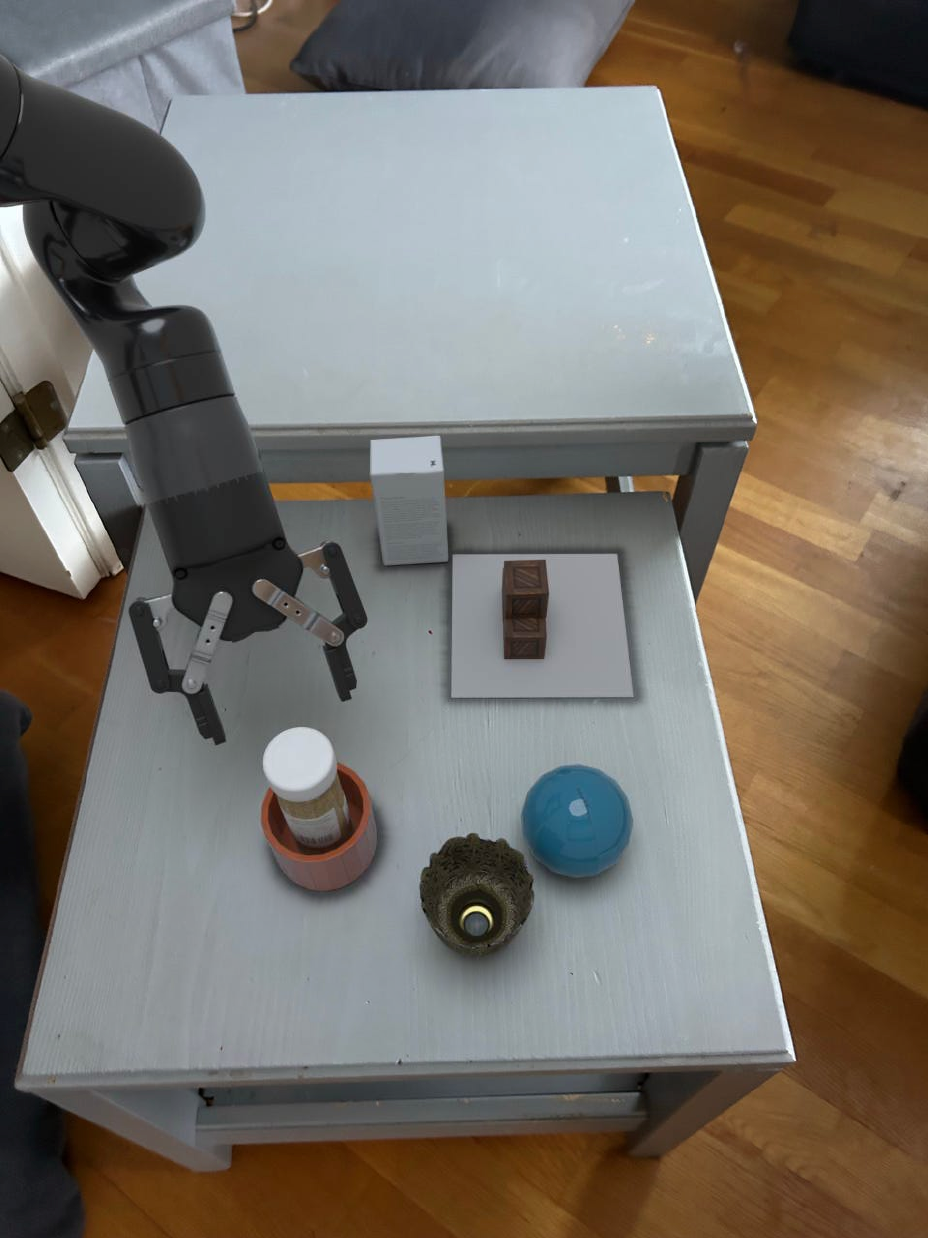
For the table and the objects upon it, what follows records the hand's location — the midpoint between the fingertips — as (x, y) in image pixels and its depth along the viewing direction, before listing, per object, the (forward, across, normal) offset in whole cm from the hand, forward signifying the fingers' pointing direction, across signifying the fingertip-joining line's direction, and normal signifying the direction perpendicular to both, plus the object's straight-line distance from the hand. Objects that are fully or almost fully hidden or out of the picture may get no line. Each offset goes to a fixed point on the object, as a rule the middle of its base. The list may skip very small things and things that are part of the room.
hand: (284, 719), depth 63 cm
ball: (+17, +17, +1) cm, 24 cm away
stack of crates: (+3, +23, +15) cm, 27 cm away
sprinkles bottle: (+11, 0, +6) cm, 13 cm away
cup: (+19, +8, -1) cm, 20 cm away
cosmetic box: (-5, +16, +23) cm, 29 cm away
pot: (+12, 0, +6) cm, 13 cm away
